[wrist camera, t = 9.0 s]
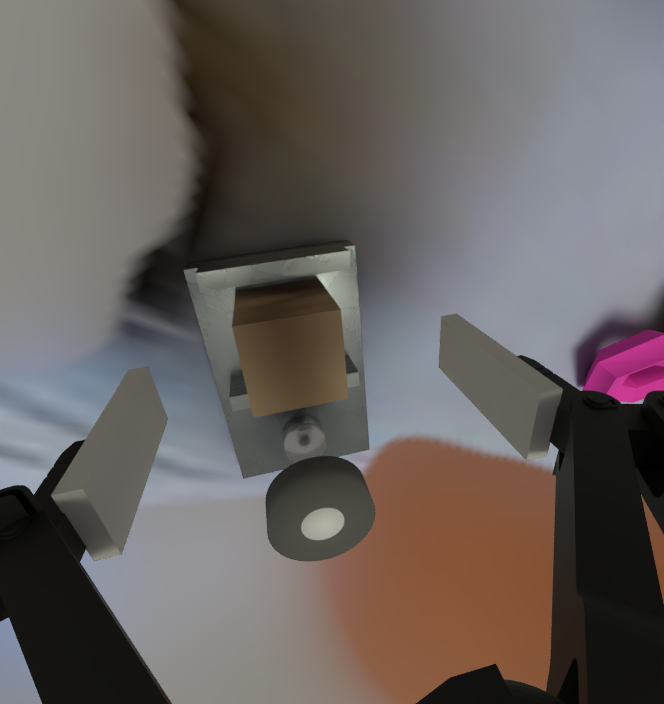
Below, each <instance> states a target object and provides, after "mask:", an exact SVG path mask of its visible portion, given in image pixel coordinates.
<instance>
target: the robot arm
mask: <svg viewBox="0 0 664 704" xmlns="http://www.w3.org/2000/svg"><path fill="white" fill-rule="evenodd" d="M439 368H440V369H441V370H442V371H443V372H444V373H445V374H446V376H447V377H448V378H449V379H450V380H451V381H452V382H453V383H454V384H455V385H456V386H457V387H458V388H459V389H460V390H461V391H462V393H463V394H464V395H465V396H466V397H467V398H468V399H469V400H470V401H471V402H472V403H473V404H474V405H475V406H476V407H477V409H478V410H479V411H480V412H481V413H482V414H483V415H484V416H485V417H486V418H487V419H488V420H489V421H490V422H491V423H492V424H493V426H494V427H495V428H496V429H497V430H498V431H499V432H500V433H501V434H502V435H503V436H504V437H505V438H506V439H507V440H508V442H509V443H510V444H511V445H512V446H513V447H514V448H515V449H516V450H517V451H518V452H519V453H520V454H521V455H522V456H523V458H524V459H525V460H526V461H528V460H532V459H536V458H541V457H545V456H547V453H548V449H549V445H550V442H551V443H552V444H553V445H554V446H555V447H556V448H558V449H559V451H558V455H557V459H556V463H555V466H554V470H553V475H556V498H555V531H554V564H553V597H552V631H551V659H550V670H549V675H548V681H547V688H546V692H545V691H543V690H541V689H539V688H537V687H534V686H531V685H528V684H525V683H522V682H517V681H512V680H504V679H503V677H502V675H501V673H500V671H499V669H498V667H497V665H496V664H493V665H490V666H487V667H483V668H480V669H477V670H474V671H471V672H467V673H464V674H461V675H457V676H454V677H451V678H449V679H448V680H447V681H445V682H444V683H442V684H441V685H440V686H439V687H437V688H436V689H435V690H433V691H432V692H431V693H429V694H428V695H427V696H425V697H424V698H423V699H421V700H420V701H419V702H418V703H416V704H664V604H663V599H662V595H661V589H660V585H659V580H658V575H657V570H656V566H655V560H654V556H653V551H652V546H651V542H650V536H649V532H648V527H647V522H646V517H645V512H644V507H643V502H642V498H641V495H642V496H643V498H644V500H645V502H646V504H647V505H648V507H649V509H650V511H651V512H652V514H653V516H654V518H655V520H656V521H657V523H658V525H659V527H660V528H661V530H662V532H663V534H664V391H663V390H661V391H651V392H649V393H647V395H646V396H645V399H644V402H643V404H621V403H620V402H619V401H618V400H617V399H615V398H614V397H612V396H610V395H607V394H605V393H601V392H597V391H589V390H585V391H580V390H578V389H577V388H575V387H574V386H572V385H571V384H569V383H568V382H566V381H565V380H563V379H562V378H560V377H559V376H557V375H556V374H553V372H551V371H550V370H549V369H547V368H546V369H545V367H544V366H543V365H541V364H540V363H538V362H537V361H535V360H533V359H530V358H528V357H525V356H522V355H520V356H516V355H514V354H513V353H511V352H510V351H508V350H507V349H506V348H504V347H503V346H501V345H500V344H499V343H497V342H496V341H494V340H493V339H492V338H490V337H489V336H487V335H486V334H484V333H483V332H482V331H480V330H479V329H477V328H476V327H475V326H473V325H472V324H470V323H469V322H468V321H466V320H465V319H463V318H462V317H460V316H459V315H458V314H452V315H446V316H441V332H440V353H439ZM167 420H168V418H167V415H166V412H165V410H164V407H163V405H162V402H161V400H160V397H159V394H158V392H157V389H156V387H155V384H154V381H153V379H152V376H151V374H150V371H149V369H148V367H143V368H138V369H132V370H128V372H127V374H126V375H125V377H124V378H123V380H122V382H121V383H120V385H119V387H118V388H117V390H116V391H115V393H114V395H113V396H112V398H111V399H110V401H109V403H108V404H107V406H106V407H105V409H104V411H103V412H102V414H101V416H100V417H99V419H98V420H97V422H96V424H95V425H94V427H93V428H92V430H91V432H90V433H89V435H88V436H87V438H86V440H82V441H77V442H74V443H73V444H72V445H71V446H70V447H69V448H67V449H66V450H65V451H64V452H63V453H62V454H61V455H60V457H59V458H58V460H57V461H56V463H55V464H54V467H53V468H52V469H51V470H50V472H49V473H48V475H47V477H46V478H45V479H44V480H43V482H42V483H41V485H40V486H39V488H38V489H37V491H36V492H35V494H34V495H33V494H32V492H31V491H30V489H29V488H27V487H26V486H24V485H15V486H11V487H8V488H4V489H2V490H0V621H2V620H4V619H6V618H8V617H9V618H10V621H11V623H12V626H13V629H14V632H15V634H16V637H17V639H18V642H19V644H20V647H21V650H22V652H23V655H24V657H25V660H26V662H27V665H28V668H29V670H30V673H31V676H32V678H33V681H34V683H35V686H36V688H37V691H38V694H39V696H40V699H41V701H42V704H172V703H171V702H170V700H169V699H168V697H167V696H166V694H165V692H164V691H163V689H162V688H161V686H160V685H159V683H158V682H157V680H156V679H155V677H154V675H153V674H152V673H151V671H150V669H149V668H148V666H147V665H146V663H145V662H144V660H143V659H142V657H141V656H140V654H139V652H138V651H137V649H136V648H135V646H134V645H133V643H132V642H131V640H130V638H129V637H128V635H127V634H126V632H125V631H124V629H123V628H122V626H121V625H120V623H119V622H118V620H117V619H116V617H115V615H114V614H113V612H112V611H111V609H110V608H109V606H108V605H107V603H106V602H105V600H104V598H103V597H102V595H101V594H100V592H99V591H98V589H97V588H96V586H95V585H94V583H93V582H92V580H91V578H90V577H89V575H88V574H87V572H86V571H85V569H84V568H83V566H82V565H81V563H80V561H81V559H82V556H83V554H84V552H85V549H86V550H87V551H88V552H89V554H90V556H91V557H92V559H93V560H94V561H97V560H101V559H106V558H110V557H114V556H119V555H122V552H123V549H124V546H125V543H126V540H127V537H128V535H129V532H130V529H131V526H132V523H133V520H134V517H135V514H136V511H137V508H138V505H139V502H140V499H141V496H142V494H143V491H144V488H145V485H146V482H147V479H148V476H149V473H150V470H151V467H152V464H153V461H154V458H155V455H156V453H157V450H158V447H159V444H160V441H161V438H162V435H163V432H164V429H165V426H166V423H167Z"/></svg>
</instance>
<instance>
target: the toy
mask: <svg viewBox="0 0 664 704" xmlns="http://www.w3.org/2000/svg"><path fill="white" fill-rule="evenodd" d="M585 390H589V391H597V392H601V393H605V394H607V395H610V396H612V397H614V398H615V399H617V400H618V401H622V402H631V403H633V402H636V401H639V400H642V399H645V396H646V395H647V393H649V392H651V391H661V390H663V391H664V333H662V332H658V331H653V330H648V329H647V330H645V331H643V332H640V333H638V334H636V335H633V336H631V337H629V338H626V339H624V340H622V341H620V342H617V343H615V344H613V345H610V346H608V347H606V348H604V349H601V350H599V352H598V354H597V356H596V358H595V360H594V362H593V364H592V366H591V367H590V369H589V371H588V374H587V377H586V381H585V384H584V388H583V391H585Z"/></svg>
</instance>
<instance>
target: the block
mask: <svg viewBox="0 0 664 704" xmlns="http://www.w3.org/2000/svg"><path fill="white" fill-rule="evenodd" d="M232 329H233V333H234V337H235V342H236V346H237V350H238V354H239V359H240V363H241V367H242V372H243V376H244V380H245V385H246V389H247V393H248V398H249V402H250V406H251V410H252V415H253V418H254V417H259V416H264V415H269V414H274V413H279V412H284V411H289V410H294V409H299V408H304V407H309V406H314V405H319V404H324V403H329V402H334V401H339V400H344V399H349V398H348V386H347V374H346V362H345V350H344V339H343V327H342V315H341V309H340V307H339V306H338V304H337V303H336V302H335V300H334V299H333V298H332V296H331V295H330V293H329V292H328V291H327V289H326V288H325V287H324V285H323V284H322V283H321V281H320V280H319V278H316V279H309V280H302V281H295V282H289V283H282V284H275V285H268V286H261V287H254V288H248V289H241V290H235V301H234V312H233V322H232Z"/></svg>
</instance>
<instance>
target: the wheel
mask: <svg viewBox="0 0 664 704" xmlns="http://www.w3.org/2000/svg"><path fill="white" fill-rule="evenodd" d="M266 518H267V533H268V539H269V541H270V543H271V545H272V547H274V549H275V550H276V551H277V552H279V553H280V554H281V555H283V556H285V557H287V558H290V559H294V560H299V561H319V560H324V559H329V558H332V557H335V556H338V555H340V554H342V553H344V552H346V551H348V550H350V549H351V548H353V547H354V546H356V545H357V544H358V543H359V542H360V541H361V540H362V539H363V538H364V537H365V536H366V535H367V534H368V532H369V531H370V529H371V527H372V525H373V522H374V519H375V506H374V503H373V500H372V498H371V495H370V493H369V490H368V487H367V485H366V482H365V480H364V477H363V475H362V473H361V471H360V470H359V469H358V468H357V467H356V466H355V465H354V464H353V463H351V462H349V461H347V460H345V459H342V458H339V457H333V456H316V457H311V458H307V459H304V460H301V461H298V462H296V463H294V464H292V465H290V466H289V467H287V468H286V469H284V470H283V471H282V472H281V473H279V475H278V476H277V477H276V478H275V479H274V480H273V482H272V483H271V485H270V486H269V488H268V491H267V494H266Z"/></svg>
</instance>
